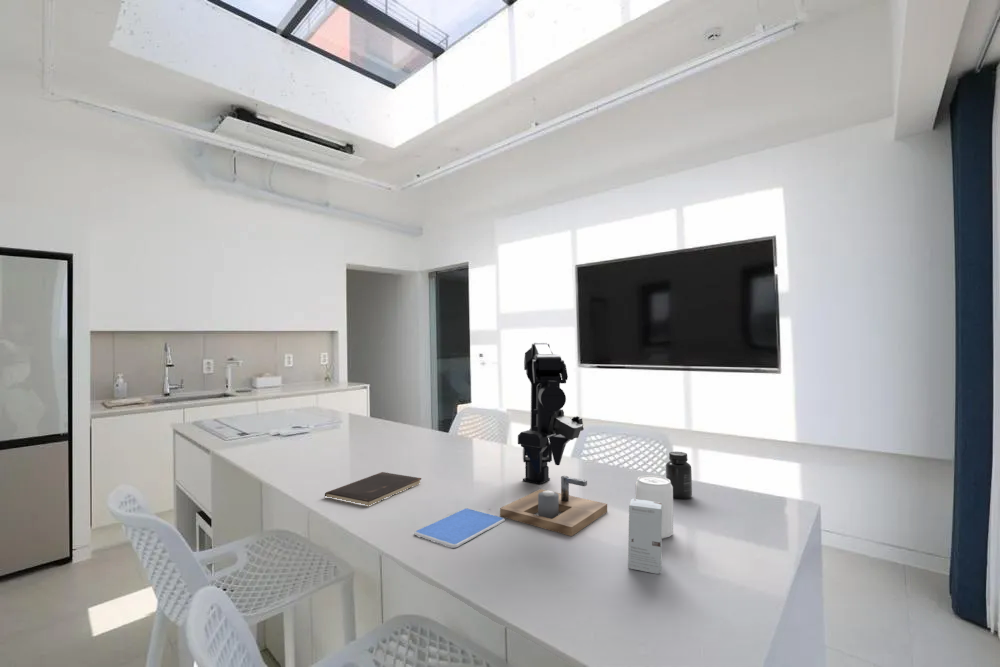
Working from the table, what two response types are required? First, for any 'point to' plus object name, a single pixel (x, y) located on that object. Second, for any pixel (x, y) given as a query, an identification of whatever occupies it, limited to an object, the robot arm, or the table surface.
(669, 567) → the table surface
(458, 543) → the tablet computer
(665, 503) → the beverage can
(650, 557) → the skincare box
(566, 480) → the hook post
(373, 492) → the hardcover book
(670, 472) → the supplement bottle
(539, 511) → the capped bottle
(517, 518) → the base board
